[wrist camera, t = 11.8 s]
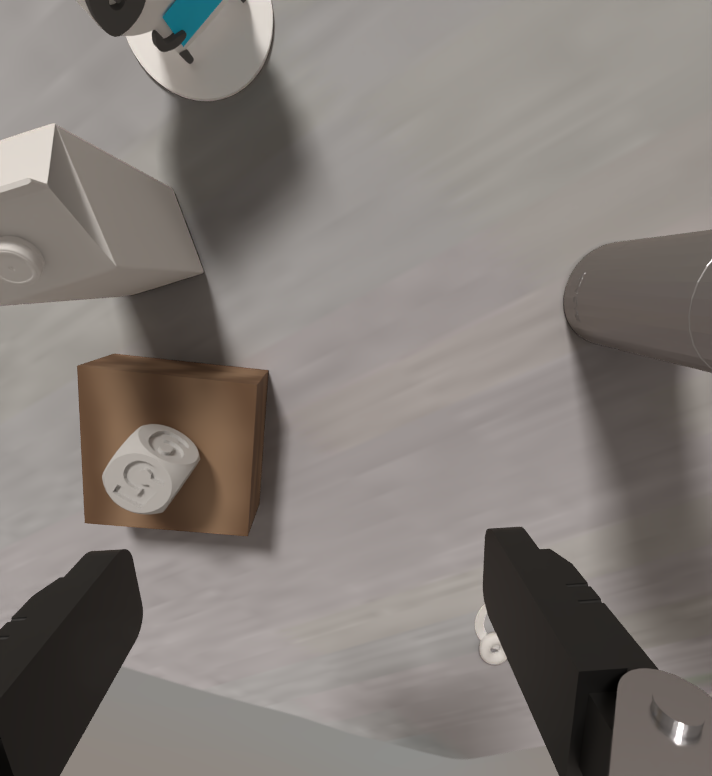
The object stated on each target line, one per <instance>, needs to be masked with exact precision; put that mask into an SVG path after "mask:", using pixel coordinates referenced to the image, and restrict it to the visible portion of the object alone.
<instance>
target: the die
mask: <svg viewBox="0 0 712 776" xmlns="http://www.w3.org/2000/svg"><path fill="white" fill-rule="evenodd" d="M199 461H200V455H199V452H198V449H197V447H196V446H195V444H194V443H193V442H192V441H191V440H190V439H189V438H188V437H187V436H185V435H184V434H183V433H181V432H179V431H177V430H175V429H173V428H171V427H168V426H164V425H159V424H148V425H143V426H141V427H139V428H138V429H137V430H136V431H135V432H134V433H132V434H131V435H130V437H129V438H128V439H127V440H126V441H125V442H124V443H123V444H122V446H121V447H120V448H119V449H118V451H117V452H116V453H115V455H114V456H113V457H112V459H111V460H110V462H109V463H108V465H107V467H106V468H105V470H104V472H103V475H102V480H103V484H104V487H105V489H106V492H107V493H108V495H109V496H110V498H111V499H112V500H113V501H114V502H115V503H116V504H117V505H119V506H120V507H122V508H124V509H126V510H128V511H130V512H133V513H137V514H157V513H162V512H164V510H165V509H166V508H167V507H168V505H169V504H170V503H171V501H172V500H173V499H174V497H175V496H176V494H177V493H178V492H179V490H180V489H181V487H182V486H183V484H184V483H185V482H186V480H187V479H188V477H189V476H190V474H191V473H192V471H193V470H194V468H195V467H196V465H197V464H198V462H199Z"/></svg>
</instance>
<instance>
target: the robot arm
mask: <svg viewBox="0 0 712 776" xmlns="http://www.w3.org/2000/svg"><path fill="white" fill-rule="evenodd" d="M564 310H565V314H566V318H567V320H568V322H569V324H570V326H571V327H572V329H573V330H574V331H575V332H576V333H577V334H578V335H579V336H580V337H582V338H583V339H585V340H587V341H589V342H592V343H595V344H599V345H603V346H607V347H611V348H615V349H619V350H622V351H626V352H630V353H634V354H638V355H642V356H646V357H650V358H654V359H658V360H662V361H666V362H670V363H674V364H678V365H682V366H686V367H690V368H694V369H698V370H702V371H706V372H710V373H712V230H706V231H698V232H691V233H683V234H675V235H668V236H660V237H652V238H643V239H636V240H628V241H621V242H614V243H610V244H606V245H603V246H601V247H599V248H597V249H595V250H593V251H592V252H590V253H589V254H588V255H586V256H585V257H584V258H583V259H582V260H581V261H580V262H579V263H578V264H577V265H576V267H575V269H574V270H573V272H572V273H571V275H570V277H569V280H568V282H567V285H566V288H565V294H564ZM483 595H484V602H485V606H486V610H487V613H488V616H489V619H490V621H491V623H492V625H493V628H494V630H495V632H496V634H497V637H498V639H499V641H500V643H501V646H502V648H503V650H504V652H505V655H506V657H507V659H508V661H509V664H510V666H511V668H512V670H513V673H514V675H515V677H516V679H517V682H518V684H519V686H520V688H521V691H522V693H523V695H524V697H525V700H526V702H527V704H528V706H529V709H530V711H531V713H532V715H533V718H534V720H535V722H536V724H537V727H538V729H539V731H540V734H541V736H542V738H543V740H544V743H545V745H546V747H547V749H548V751H549V754H550V756H551V758H552V761H553V763H554V765H555V767H556V770H557V772H558V774H559V776H712V697H710V696H709V695H708V694H707V693H706V692H704V691H703V690H701V689H700V688H698V687H697V686H695V685H694V684H692V683H690V682H688V681H687V680H685V679H683V678H680V677H678V676H676V675H673V674H671V673H668V672H665V671H661V670H659V669H658V668H657V667H656V666H655V664H654V663H653V662H652V661H651V660H650V658H649V657H648V656H647V655H646V654H645V652H644V651H643V650H642V649H641V647H640V646H639V645H638V644H637V643H636V641H635V640H634V639H633V638H632V636H631V635H630V634H629V633H628V632H627V630H626V629H625V628H624V627H623V625H622V624H621V623H620V622H619V621H618V619H617V618H616V617H615V616H614V614H613V613H612V612H611V611H610V610H609V608H608V607H607V606H606V605H605V603H602V602H601V599H600V597H599V596H598V595H597V594H596V593H595V591H594V590H593V589H592V588H591V586H590V587H588V584H587V582H586V580H585V579H584V578H583V577H582V575H581V574H580V573H579V572H578V571H577V569H576V568H575V567H574V566H573V564H571V563H570V562H569V561H567V560H566V559H564V558H563V557H561V556H560V555H558V554H557V553H555V552H554V551H552V550H551V549H539V548H538V547H537V545H536V544H535V543H534V541H533V540H532V539H531V537H530V536H529V535H528V533H527V532H526V531H525V529H524V528H522V527H509V528H492V529H487V531H486V534H485V548H484V571H483ZM142 618H143V607H142V601H141V596H140V592H139V587H138V582H137V577H136V572H135V567H134V562H133V558H132V555H131V553H130V552H129V551H128V550H126V549H122V550H105V551H91V552H88V553H86V554H85V555H84V556H83V557H82V558H81V559H80V560H79V561H78V563H77V564H76V565H75V566H74V567H73V568H72V569H71V570H70V571H69V572H68V573H67V574H66V576H65V577H62V578H58V579H57V580H56V581H54V582H53V583H51V584H50V585H48V586H47V587H45V588H44V589H42V590H41V591H39V592H38V593H36V594H35V595H34V596H32V597H31V598H30V599H29V600H28V601H27V602H26V603H25V604H24V605H23V607H22V608H21V609H20V610H19V611H18V612H17V613H16V614H15V615H14V616H13V617H12V620H11V622H7V623H6V624H5V625H4V626H3V627H2V628H1V629H0V776H60V774H61V772H62V771H63V769H64V767H65V765H66V764H67V762H68V760H69V758H70V756H71V755H72V753H73V751H74V749H75V748H76V746H77V744H78V742H79V741H80V739H81V737H82V735H83V733H84V732H85V730H86V728H87V726H88V724H89V723H90V721H91V719H92V717H93V716H94V714H95V712H96V710H97V709H98V707H99V705H100V703H101V701H102V700H103V698H104V696H105V694H106V693H107V691H108V689H109V687H110V685H111V683H112V682H113V680H114V678H115V676H116V675H117V673H118V671H119V669H120V668H121V666H122V664H123V662H124V661H125V659H126V657H127V655H128V653H129V652H130V650H131V648H132V646H133V645H134V643H135V641H136V639H137V637H138V635H139V632H140V628H141V624H142Z"/></svg>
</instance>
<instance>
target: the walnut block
mask: <svg viewBox="0 0 712 776" xmlns="http://www.w3.org/2000/svg"><path fill="white" fill-rule="evenodd" d="M77 371H78V392H79V412H80V433H81V453H82V474H83V495H84V515H85V523H90V524H102V525H114V526H127V527H139V528H151V529H164V530H176V531H189V532H201V533H213V534H226V535H238V536H248V534H249V531H250V529H251V526H252V523H253V520H254V517H255V515H256V512H257V509H258V506H259V501H260V487H261V472H262V457H263V443H264V428H265V414H266V399H267V385H268V370H261V369H251V368H242V367H233V366H223V365H214V364H205V363H196V362H186V361H177V360H168V359H158V358H149V357H140V356H130V355H121V354H112V355H109V356H106V357H103V358H100V359H97V360H94V361H91V362H87V363H84V364H81V365H78V366H77ZM148 424H159V425H164V426H168V427H171V428H173V429H175V430H177V431H179V432H181V433H183V434H184V435H185V436H187V437H188V438H189V439H190V440H191V441H192V442H193V443H194V444H195V446H196V447H197V449H198V452H199V455H200V461H199V462H198V464H197V465H196V467H195V468H194V470H193V471H192V473H191V474H190V476H189V477H188V479H187V480H186V482H185V483H184V484H183V486H182V487H181V489H180V490H179V492H178V493H177V494H176V496H175V497H174V499H173V500H172V501H171V503H170V504H169V505H168V507H167V508H166V509H165V510H164V512H162V513H157V514H137V513H133V512H130V511H128V510H126V509H124V508H122V507H120V506H119V505H117V504H116V503H115V502H114V501H113V500H112V499H111V498H110V496H109V495H108V493H107V492H106V489H105V487H104V484H103V480H102V475H103V472H104V470H105V468H106V467H107V465H108V463H109V462H110V460H111V459H112V457H113V456H114V455H115V453H116V452H117V451H118V449H119V448H120V447H121V446H122V444H123V443H124V442H125V441H126V440H127V439H128V438H129V437H130V435H131V434H132V433H134V432H135V431H136V430H137V429H138V428H139V427H141V426H143V425H148Z"/></svg>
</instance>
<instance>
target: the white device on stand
mask: <svg viewBox="0 0 712 776" xmlns="http://www.w3.org/2000/svg"><path fill="white" fill-rule="evenodd" d="M76 1H77V2H78V3H79V5H80V6H81V7H82V8H83V9H84V10H85V11H86V12H87V13H88V14H89V15H90V17H91V18H92V19H93V20H94V21H95V22H96V23H97V24H98V25H99V26H100V27H101V28H102V29H103V30H104V31H105V32H107V33H108V34H109V35H111V36H114V37H117V36H126V37H127V40H128V42H129V45H130V47H131V49H132V51H133V53H134V54H135V56H136V57H137V59H138V61H139V62H140V63H141V65H142V66H143V67H144V69H145V70H146V71H147V72H148V73H149V74H150V75H151V76H152V77H153V78H154V79H155V80H156V81H157V82H158V83H159V84H161V85H162V86H163V87H165V88H166V89H168V90H169V91H171V92H173V93H175V94H177V95H179V96H182V97H184V98H187V99H192V100H197V101H216V100H221V99H225V98H227V97H230V96H232V95H234V94H236V93H238V92H239V91H241V90H242V89H244V88H245V87H246V86H247V85H249V84H250V83H251V82H252V80H253V79H254V78H255V77H256V76H257V74H258V73H259V71H260V70H261V68H262V67H263V65H264V63H265V61H266V58H267V56H268V53H269V49H270V46H271V41H272V35H273V10H272V3H271V0H76Z"/></svg>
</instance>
